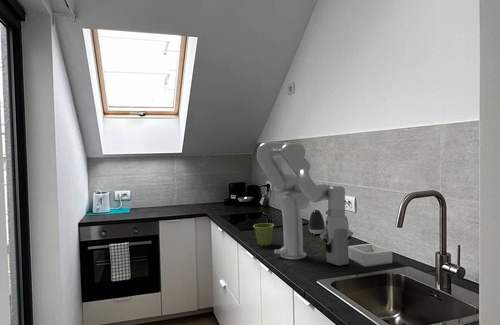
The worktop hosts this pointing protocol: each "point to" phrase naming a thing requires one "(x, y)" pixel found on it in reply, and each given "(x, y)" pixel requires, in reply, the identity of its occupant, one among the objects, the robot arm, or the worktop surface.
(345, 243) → the skincare box
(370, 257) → the box
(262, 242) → the plant pot
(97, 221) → the worktop surface
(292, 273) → the worktop surface
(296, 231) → the robot arm
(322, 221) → the black rounded dome
